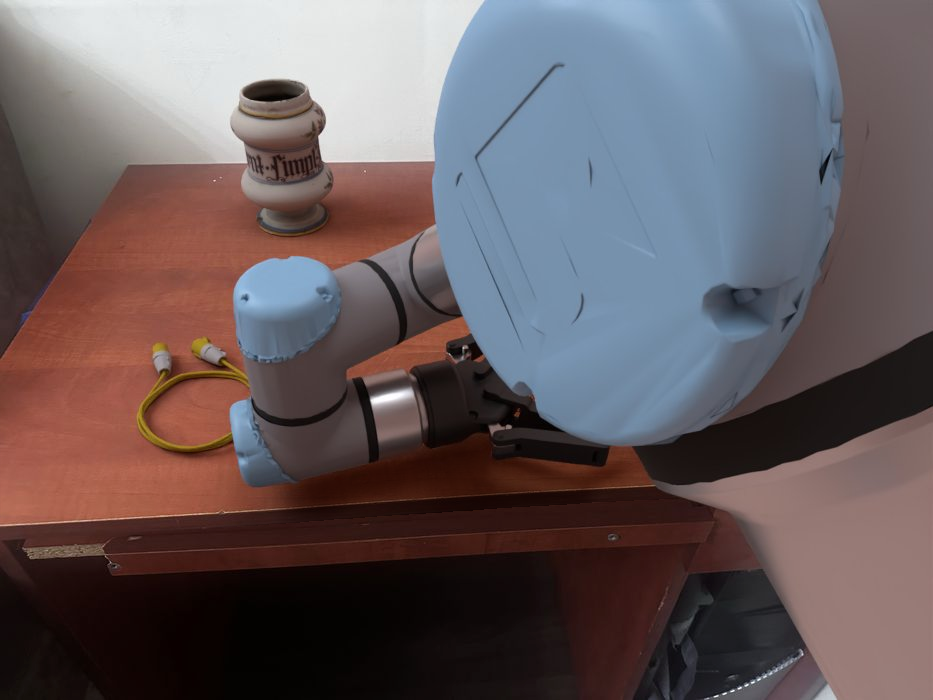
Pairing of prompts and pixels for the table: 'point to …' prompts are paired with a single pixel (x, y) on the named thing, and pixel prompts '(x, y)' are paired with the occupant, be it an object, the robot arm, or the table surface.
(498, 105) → the robot arm
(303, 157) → the apothecary jar
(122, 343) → the table surface
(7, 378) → the table surface
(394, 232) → the table surface
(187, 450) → the extension cord
